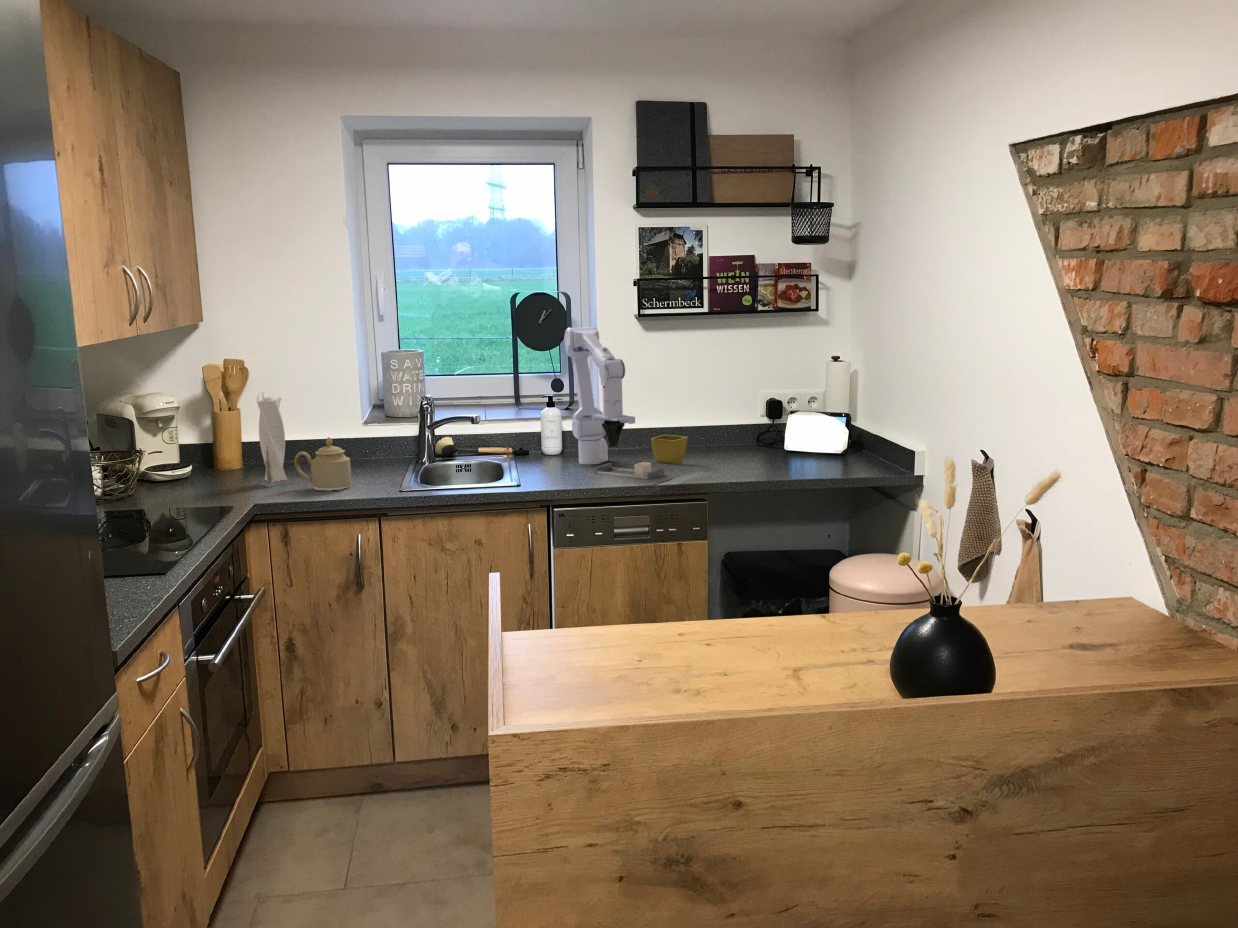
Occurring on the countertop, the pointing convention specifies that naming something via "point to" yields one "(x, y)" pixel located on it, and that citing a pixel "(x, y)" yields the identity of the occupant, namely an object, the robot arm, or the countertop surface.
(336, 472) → the sugar bowl
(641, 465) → the fader knob
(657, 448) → the flower pot
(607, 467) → the fader console
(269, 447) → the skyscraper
